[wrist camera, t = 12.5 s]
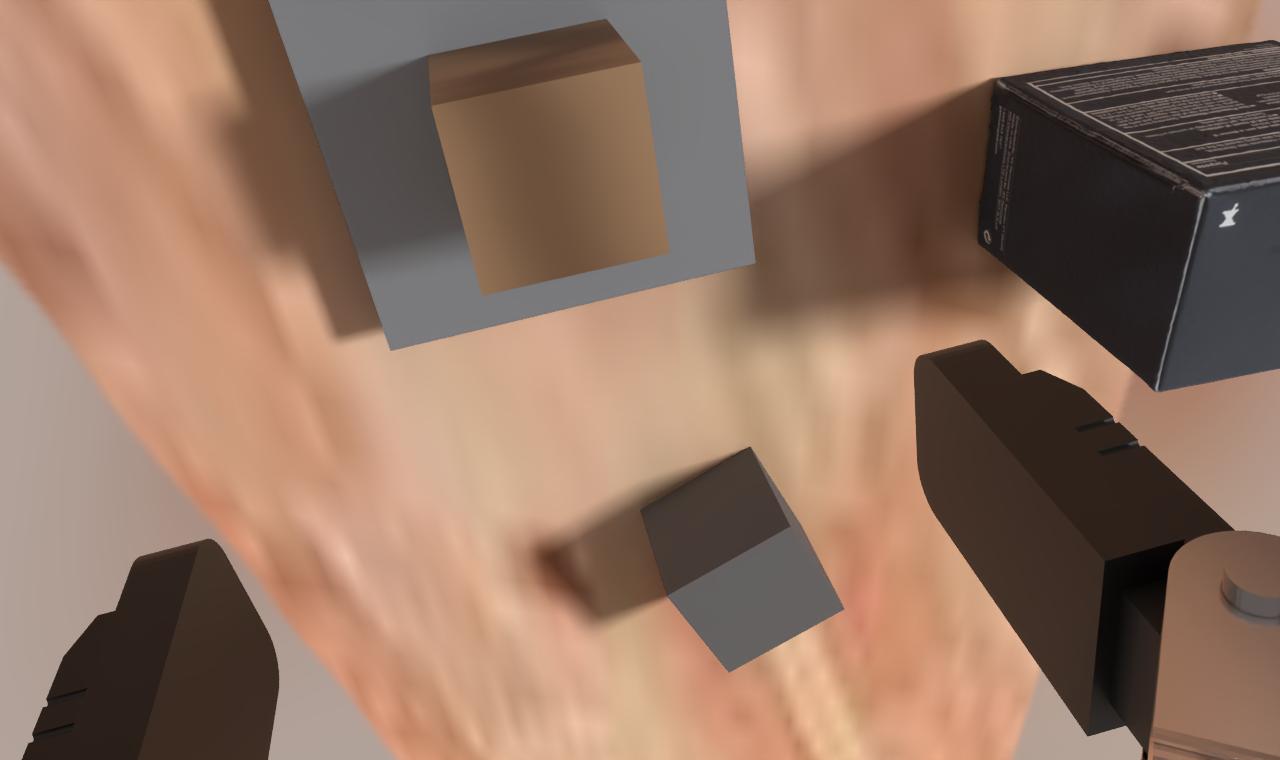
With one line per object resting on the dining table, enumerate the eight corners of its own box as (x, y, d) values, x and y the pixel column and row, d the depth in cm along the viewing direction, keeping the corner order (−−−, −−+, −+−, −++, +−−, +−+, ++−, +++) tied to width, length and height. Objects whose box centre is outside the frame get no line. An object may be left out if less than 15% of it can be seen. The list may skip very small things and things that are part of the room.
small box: (969, 255, 36) (1148, 408, 28) (988, 74, 33) (1199, 183, 24) (1233, 212, 38) (1484, 344, 29) (1277, 33, 34) (1577, 122, 25)
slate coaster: (691, -152, 28) (709, -147, 26) (738, 239, 34) (755, 263, 33) (260, -64, 27) (249, -53, 25) (391, 321, 33) (390, 350, 32)
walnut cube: (606, 18, 28) (641, 62, 24) (634, 187, 30) (670, 253, 26) (427, 55, 27) (430, 105, 23) (472, 223, 30) (482, 296, 26)
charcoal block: (749, 445, 39) (790, 526, 35) (801, 525, 42) (844, 609, 37) (640, 508, 40) (666, 595, 35) (697, 583, 42) (728, 672, 38)
